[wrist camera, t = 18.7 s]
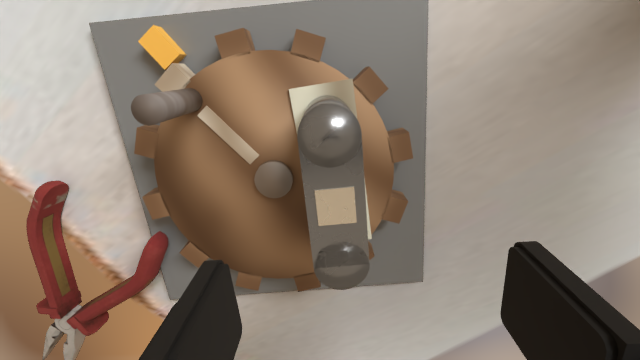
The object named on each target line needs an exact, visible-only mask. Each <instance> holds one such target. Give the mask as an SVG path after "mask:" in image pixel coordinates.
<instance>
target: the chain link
mask: <svg viewBox="0 0 640 360" xmlns="http://www.w3.org/2000/svg"><path fill="white" fill-rule="evenodd" d="M297 140H298V148H299V156H300V164H301V172H302V180H303V188H304V196H305V204H306V211H307V219H308V227H309V235H310V243H311V251H312V259H313V267H314V272H315V275H316V277H317V278H318V280H319V281H320V282H321V283H323V284H324V285H326V286H327V287H330V288H333V289H339V290H344V289H349V288H352V287H355V286H357V285H358V284H360V283H361V282H362V281H363V280H364V279H365V278H366V276H367V274H368V271H369V247H368V230H367V214H366V197H365V180H364V163H363V146H362V132H361V127H360V124H359V121H358V120H357V118H356V117H355V115H354V114H353V113H352V111H351V110H350V108H349V107H348V106H347V104H346V103H345V102H344V101H343V100H341V99H340V98H338V97H336V96H332V95H323V96H320V97H317V98H315V99H314V100H312V101H311V102H310V103H309V104H308V106H307V107H306V109H305V112H304V114H303V117H302V119H301V122H300V124H299V127H298V132H297Z"/></svg>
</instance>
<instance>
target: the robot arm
mask: <svg viewBox="0 0 640 360" xmlns="http://www.w3.org/2000/svg"><path fill="white" fill-rule="evenodd" d="M501 319H502V322H503V324H504V326H505V327H506V329H507V330H508V332H509V333H510V335H511V336H512V338H513V339H514V341H515V342H516V344H517V345H518V347H519V348H520V350H521V352H522V353H523V354H524V356H525V357H526V359H527V360H640V330H639V329H638V328H637V327H636V326H634V325H633V324H632V323H631V322H630V321H628V320H627V319H626V318H625V317H624V316H623V315H622V314H621V313H619V312H618V311H617V310H616V309H615V308H614V307H612V306H611V305H610V304H609V303H608V302H607V301H605V300H604V299H603V298H602V297H601V296H600V295H599V294H597V293H596V292H595V291H594V290H593V289H591V288H590V287H589V286H588V285H587V284H586V283H585V282H584V281H582V280H581V279H580V278H579V277H578V276H577V275H575V274H574V273H573V272H572V271H571V270H570V269H569V268H567V267H566V266H565V265H564V264H563V263H562V262H560V261H559V260H558V259H557V258H556V257H555V256H554V255H552V254H551V253H550V252H549V251H548V250H547V249H545V248H544V247H543V246H542V245H541V244H540V243H538V242H536V241H531V242H517V243H515V245H514V247H511V248H510V249H509V253H508V260H507V268H506V276H505V283H504V291H503V298H502V306H501ZM241 335H242V323H241V318H240V314H239V309H238V305H237V300H236V296H235V291H234V287H233V282H232V278H231V273H230V269H229V265H228V264H224V262H223V261H222V260H208V261H204V262H203V263H202V265H201V266H200V268H199V269H198V271H197V272H196V274H195V276H194V277H193V279H192V280H191V282H190V283H189V285H188V286H187V288H186V290H185V291H184V293H183V294H182V296H181V297H180V299H179V301H178V302H177V303H176V304H175V305H174V306H173V307H172V309H171V310H170V312H169V313H168V315H167V317H166V318H165V320H164V321H163V323H162V325H161V326H160V327H159V329H158V331H157V332H156V334H155V335H154V337H153V338H152V340H151V341H150V343H149V344H148V346H147V348H146V349H145V351H144V352H143V354H142V355H141V357H140V358H139V360H234V357H235V353H236V350H237V347H238V344H239V341H240V338H241Z"/></svg>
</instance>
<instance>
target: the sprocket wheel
mask: <svg viewBox="0 0 640 360" xmlns="http://www.w3.org/2000/svg"><path fill="white" fill-rule="evenodd" d="M214 37H215V40H216V43H217V46H218V49H219V52H220V55H221V58H222V59H221V60H218V61H216V62H215V63H213V64H211V65H209V66H207V67H205V68H204V69H202V70H201V71H200V72H198V73H197V74H194V73H193V72H192V71H191V70H190V69H189V68H188V67H187V66H186V65H185V64H181V63H172V64H171V65H170V66H169V68H168V69H167V70H166V71H165V72H164V74H163V75H162V76H161V77H160V78H159V80H158V81H157V82H156V83H155V86H156V87H158V88H159V89H160V90H161V91H162V92H157V93H149V94H142V95H138V96H136V97H135V98H134V99H133V101H132V103H131V112H132V114H133V116H134V118H135V119H136V120H137V121H138V122H139V123H141V124H143V125H144V126H140V127H137V130H136V140H135V151H134V154H137V155H141V156H145V157H149V158H153V159H154V166H155V176H156V181H157V185H158V187H157V188H154V189H153V190H151V191H150V192H148V193H147V194H146V195H144V196H143V197H142V198H143V200H144V203H145V205H146V207H147V209H148V211H149V213H150V215H151V218H152V220H154V219H158V218H162V217H166V216H170V217H171V219H172V220H173V222H174V223H175V225H176V226H177V227H178V229H179V230H180V231H181V232H182V234H183V235H184V236H185V237H186V238H187V239H188V240H189V241H188V242H187V243H186V245H185V246H184V247H183V249H182V250H181V251H180V252H179V253H180V254H181V255H182V256H184V257H185V258H186V259H187V260H189V261H190V262H191V263H193V264H194V265H195V266H196V267H198V268H199V267H200V266H201V265H202V263H203V262H204V261H206V260H207V259H208V258H211V259H213V260H222V261H223V262H224V264H228V265H229V268H230V269H233V270H235V271H238V276H237V280H236V285H235V286H239V287H243V288H247V289H251V290H256V291H258V290H259V286H260V283H261V279H262V277H263V278H276V279H281V278H294V280H295V284H296V287H297V290H298V292H299V291H304V290H309V289H314V288H319V287H321V282H320V281H319V280H318V278H317V277H316V275H315V272H314V267H313V259H312V251H311V243H310V235H309V227H308V219H307V211H306V204H305V196H304V188H303V180H302V172H301V164H300V156H299V148H298V140H297V132H298V127H299V124H300V122H301V119H302V117H303V114H304V112H305V109H306V107H307V106H308V104H309V103H310V102H311V101H312V100H314V99H315V98H317V97H320V96H323V95H332V96H336V97H338V98H340V99H341V100H343V101H344V102H345V103H346V104H347V106H348V107H349V108H350V110H351V111H352V113H353V114H354V115H355V117H356V118H357V120H358V121H359V124H360V127H361V132H362V146H363V163H364V180H365V197H366V214H367V230H368V239H372V236H371V235H372V234H373V233H374V231H375V230H376V228H377V226H378V225H379V223H380V222H381V220H382V219H383V220H387V221H390V222H394V223H398V224H399V223H400V221H401V218H402V216H403V213H404V211H405V208H406V206H407V203H408V200H407V199H406V197H405V196H404V194H403V193H402V192H400V191H396V190H393V189H392V186H393V180H394V163H396V162H400V161H404V160H408V159H413V153H412V147H411V141H410V135H409V132H408V131H407V130H405V129H404V128H398V129H394V130H390V131H387V130H386V128H385V125H384V123H383V120H382V119H381V117H380V115H379V113H378V112H377V110H376V108H375V106H374V105H373V103H374V102H375V101H376V100H377V99H378V98H379V97H380V96H381V95H383V94H384V93H385V92H386V91H387V90H388V89H389V88H388V87H387V86H386V85H385V84H384V83H383V81H382V80H381V79H380V78H379V77H378V76H377V75H376V73H375V72H374V71H373V70H372V69H371V68H370V67H365V68H364V69H363V70H362V71H361V72H360V73H359V74H358V75H357V76H356V77H355V78H354V79H349V78H347V77H346V76H345V75H343V74H342V73H341V72H339V71H338V70H336V69H335V68H333V67H331V66H329V65H327V64H325V63H324V62H322V61H320V59H321V55H322V51H323V48H324V44H325V40H326V38H325V37H322V36H318V35H315V34H312V33H309V32H306V31H302V30H299V29H296V32H295V36H294V40H293V45H292V49H291V52H289V51H279V50H257V51H255V47H254V44H253V41H252V37H251V34H250V31H248V30H247V29H245V28H240V29H237V30H233V31H230V32H226V33H223V34H219V35H216V36H214ZM158 123H160V126H159V125H155V124H158ZM368 247H369V260H370V259H372V258H373V257H374V256H375V255H374V252H373V248H372V245H371V243H370V242H369V241H368Z"/></svg>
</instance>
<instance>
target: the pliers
mask: <svg viewBox="0 0 640 360" xmlns="http://www.w3.org/2000/svg"><path fill="white" fill-rule="evenodd" d="M68 189H69V188H68V185H67V184H66V183H64V182H61V181H50V182H47V183H45V184H43V185H41V186H40V187H39V188H38V189H37V190H36V192H35V195H34V198H33V201H32V205H31V208H30V211H29V215H28V218H27V236H28V241H29V246H30V249H31V252H32V255H33V258H34V261H35V264H36V267H37V270H38V273H39V276H40V279H41V282H42V285H43V288H44V291H45V294H46V298H45V299H43V300H42V301H41V302H39V303H38V304H37V306H36V307H37V310H38V313H40V314H49V315H50V318H53V319H55V322H54V323H53V324H52V325H51V326H50V327H49V329H48V331H47V333H46V339H45V346H44V353H43V360H44V359H45V358H46V357H47V356H48V355H49V353H50V352H51V351H52V349H53V348H54V347H55V345H56V344H57V343H58V341H59V340H60V338H61V337H62V336H63V334H64V333H65V334H67V341H66V342H65V343H64V352H63V353H64V360H76V357H77V355H78V353H79V351H80V349H81V347H82V344H83V342H84V339H85V336H89V335H91V334H93V333H95V332H97V330H99V329H100V328H101V327H102V325H103V324H104V323H106V322H107V320H108V318H109V314H108V312H107V311H108V310H109V309H111V308H113V307H115V306H116V305H118V304H120V303H122V302H123V301H125V300H127V299H129V298H130V297H132V296H134V295H136V294H137V293H139V292H140V291H141V290H143V289H144V288H145V287H146V286H148V285H149V284H150V283H151V282H152V281H153V280H154V278H155V277H156V276H157V274H158V272H159V270H160V267H161V264H162V261H163V258H164V256H165V253H166V250H167V247H168V242H169V241H168V237H167V235H166V234H164V233H163V232H161V231H159V232H157V233H156V234H155V235H153V236H152V237H151V238H150V240H149V241H148V243H147V244H146V246H145V248H144V250H143V252H142V255H141V258H140V261H139V264H138V267H137V270H136V272H135V274H134V276H132V277H130V278H128V279H127V280H125V281H123V282H122V283H120V284H118V285H117V286H115V287H114V288H112V289H110V290H109V291H107V292H105V293H103V294H102V295H100V296H98V297H97V298H95V299H93V300H91V301H90V302H88V303H87V304H85V305H84V306H83V307H82V306H80V305H78V304H80V303H81V302H82V301H81V293H80V291H78V287H77V284H76V280H75V277H74V274H73V270H72V267H71V263H70V261H69V256H68V253H67V250H66V246H65V243H64V239H63V236H62V231H61V223H60V218H61V212H62V208H63V205H64V202H65V199H66V196H67V193H68Z"/></svg>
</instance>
